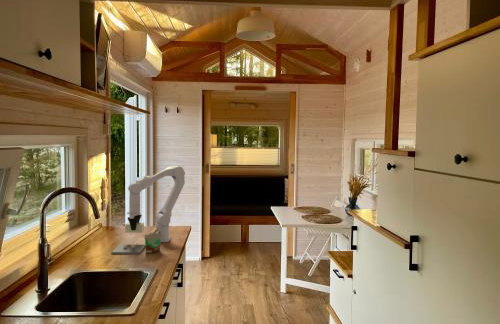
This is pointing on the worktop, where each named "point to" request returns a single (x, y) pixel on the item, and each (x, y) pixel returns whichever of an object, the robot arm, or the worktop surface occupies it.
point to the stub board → (128, 249)
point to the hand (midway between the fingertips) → (134, 229)
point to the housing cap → (138, 228)
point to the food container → (153, 242)
